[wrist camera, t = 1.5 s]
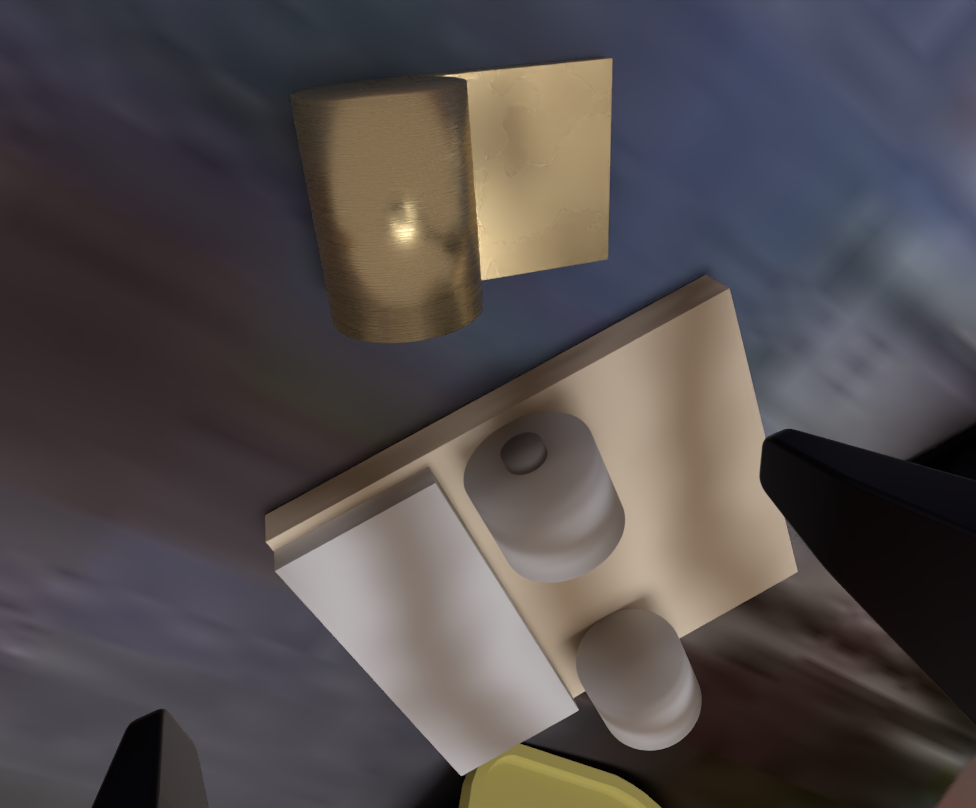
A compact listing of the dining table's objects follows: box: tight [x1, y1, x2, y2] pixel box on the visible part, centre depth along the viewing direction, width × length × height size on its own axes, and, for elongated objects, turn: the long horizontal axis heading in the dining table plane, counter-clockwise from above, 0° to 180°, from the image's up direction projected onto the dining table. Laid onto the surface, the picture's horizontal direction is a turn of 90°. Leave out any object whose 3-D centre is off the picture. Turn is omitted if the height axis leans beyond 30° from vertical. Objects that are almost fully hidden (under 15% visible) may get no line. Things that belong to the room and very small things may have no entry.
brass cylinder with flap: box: [289, 57, 612, 343], centre depth 20 cm, size 6×9×4 cm, turn 93°
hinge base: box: [265, 275, 798, 776], centre depth 27 cm, size 18×16×6 cm
